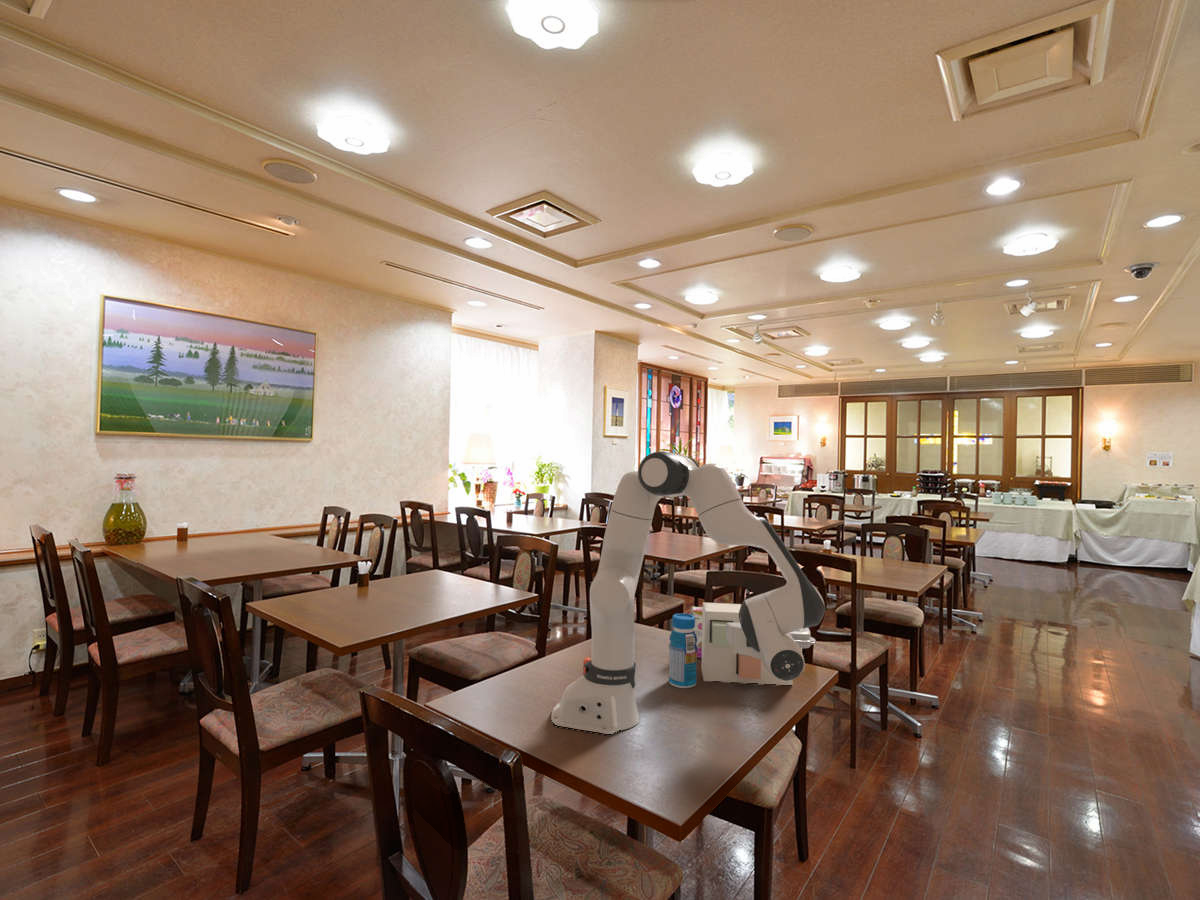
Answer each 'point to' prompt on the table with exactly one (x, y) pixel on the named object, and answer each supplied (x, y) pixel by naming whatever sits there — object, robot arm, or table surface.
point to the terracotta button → (748, 667)
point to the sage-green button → (719, 633)
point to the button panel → (725, 649)
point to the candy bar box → (698, 628)
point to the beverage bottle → (683, 652)
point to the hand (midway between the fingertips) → (762, 625)
